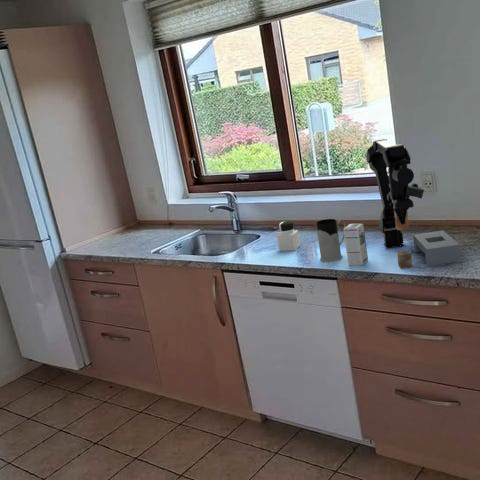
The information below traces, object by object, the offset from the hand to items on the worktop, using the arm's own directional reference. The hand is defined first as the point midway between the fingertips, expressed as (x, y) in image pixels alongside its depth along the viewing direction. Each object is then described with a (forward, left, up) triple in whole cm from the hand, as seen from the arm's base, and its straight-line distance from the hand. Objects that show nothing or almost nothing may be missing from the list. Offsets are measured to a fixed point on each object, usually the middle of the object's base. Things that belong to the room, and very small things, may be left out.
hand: (402, 222), depth 205 cm
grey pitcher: (-24, +11, -13) cm, 30 cm away
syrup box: (-17, -1, -13) cm, 22 cm away
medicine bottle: (-42, +32, -13) cm, 55 cm away
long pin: (0, 0, -2) cm, 2 cm away
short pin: (-2, -12, -13) cm, 17 cm away
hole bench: (+10, -5, -13) cm, 17 cm away
